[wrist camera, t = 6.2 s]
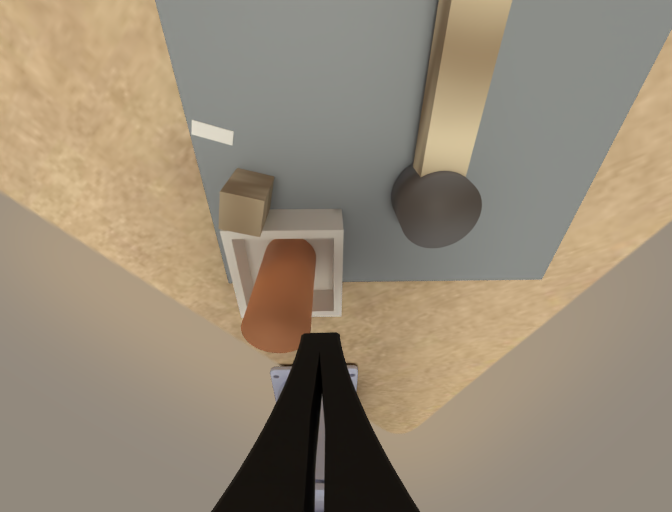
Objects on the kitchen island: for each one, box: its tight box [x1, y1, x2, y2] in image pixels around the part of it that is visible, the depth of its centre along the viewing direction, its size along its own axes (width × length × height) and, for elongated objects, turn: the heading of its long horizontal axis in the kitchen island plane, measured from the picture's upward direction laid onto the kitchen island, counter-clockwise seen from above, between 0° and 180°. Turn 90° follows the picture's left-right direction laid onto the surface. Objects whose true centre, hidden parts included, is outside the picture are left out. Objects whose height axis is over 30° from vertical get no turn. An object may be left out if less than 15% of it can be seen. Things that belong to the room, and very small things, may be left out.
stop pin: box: [241, 239, 316, 353], centre depth 16 cm, size 3×3×6 cm
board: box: [155, 0, 672, 283], centre depth 16 cm, size 19×22×1 cm
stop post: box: [218, 168, 274, 237], centre depth 15 cm, size 2×2×3 cm
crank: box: [391, 0, 512, 248], centre depth 13 cm, size 14×4×4 cm, turn 0°
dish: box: [220, 209, 344, 318], centre depth 18 cm, size 6×6×2 cm
